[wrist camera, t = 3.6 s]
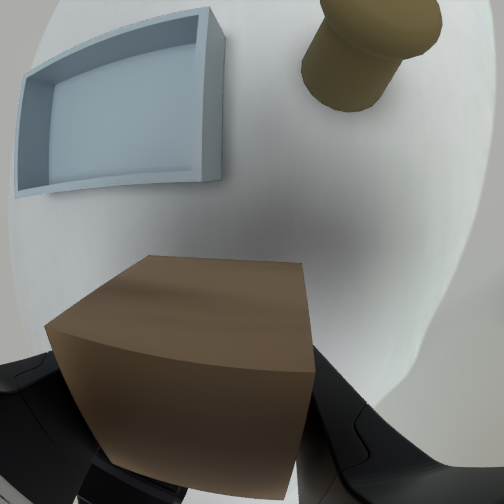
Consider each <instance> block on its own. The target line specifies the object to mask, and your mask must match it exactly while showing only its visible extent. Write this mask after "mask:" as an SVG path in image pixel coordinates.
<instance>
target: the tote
mask: <svg viewBox="0 0 504 504" xmlns="http://www.w3.org/2000/svg"><path fill="white" fill-rule="evenodd" d="M224 53H225V35H224V33H223V31H222V30H221V28H220V26H219V24H218V22H217V20H216V18H215V16H214V14H213V12H212V10H211V8H210V7H202V8H196V9H190V10H185V11H180V12H175V13H171V14H167V15H162V16H158V17H155V18H151V19H147V20H144V21H140V22H137V23H134V24H131V25H128V26H125V27H122V28H119V29H116V30H113V31H110V32H108V33H105V34H103V35H100V36H98V37H95V38H93V39H90V40H88V41H86V42H84V43H81V44H79V45H77V46H75V47H73V48H71V49H69V50H67V51H65V52H63V53H61V54H59V55H57V56H55V57H53V58H51V59H49V60H48V61H46V62H44V63H42V64H41V65H39V66H37V67H35V68H34V69H32V70H31V71H29V72H27V73H26V74H24V77H23V82H22V87H21V93H20V99H19V106H18V114H17V123H16V134H15V152H14V186H15V199H16V198H22V197H28V196H34V195H41V194H48V193H55V192H62V191H70V190H79V189H88V188H98V187H108V186H120V185H134V184H149V183H169V182H200V181H214V180H222V110H223V77H224Z"/></svg>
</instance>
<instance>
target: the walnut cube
mask: <svg viewBox="0 0 504 504" xmlns="http://www.w3.org/2000/svg"><path fill="white" fill-rule="evenodd" d="M44 327H45V330H46V333H47V336H48V339H49V342H50V344H51V347H52V350H53V352H54V355H55V358H56V360H57V363H58V365H59V367H60V370H61V372H62V375H63V377H64V379H65V381H66V383H67V386H68V388H69V390H70V392H71V394H72V396H73V398H74V400H75V402H76V404H77V406H78V408H79V410H80V412H81V414H82V415H83V417H84V419H85V421H86V423H87V424H88V426H89V428H90V430H91V431H92V433H93V435H94V436H95V438H96V439H97V441H98V443H99V444H100V446H101V447H102V449H103V450H104V452H105V453H106V455H107V456H108V458H109V459H110V461H111V462H112V464H115V465H117V466H120V467H122V468H125V469H128V470H130V471H133V472H136V473H139V474H142V475H144V476H148V477H151V478H154V479H157V480H160V481H164V482H167V483H171V484H175V485H179V486H183V487H187V488H191V489H196V490H200V491H206V492H211V493H216V494H223V495H229V496H237V497H245V498H255V499H268V500H284V498H285V495H286V491H287V488H288V485H289V482H290V478H291V475H292V471H293V468H294V464H295V461H296V457H297V453H298V449H299V446H300V442H301V438H302V434H303V430H304V425H305V421H306V417H307V412H308V408H309V403H310V398H311V394H312V389H313V384H314V378H315V373H316V371H315V361H314V352H313V343H312V335H311V326H310V318H309V311H308V303H307V296H306V289H305V282H304V275H303V268H302V263H290V262H268V261H247V260H227V259H207V258H188V257H170V256H152V255H148V256H147V257H145V258H144V259H142V260H141V261H139V262H137V263H136V264H134V265H133V266H131V267H130V268H128V269H126V270H125V271H123V272H122V273H120V274H119V275H117V276H116V277H114V278H113V279H111V280H110V281H108V282H107V283H105V284H104V285H102V286H101V287H99V288H98V289H96V290H95V291H93V292H92V293H90V294H89V295H87V296H86V297H84V298H83V299H82V300H80V301H79V302H77V303H76V304H74V305H73V306H71V307H70V308H69V309H67V310H66V311H64V312H63V313H62V314H60V315H59V316H57V317H56V318H55V319H53V320H52V321H50V322H49V323H48V324H46V325H45V326H44Z"/></svg>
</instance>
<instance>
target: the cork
mask: <svg viewBox="0 0 504 504" xmlns="http://www.w3.org/2000/svg"><path fill="white" fill-rule="evenodd" d="M320 4H321V7H322V10H323V12H324V15H325V18H324V20H323V22H322V24H321V25H320V27H319V29H318V31H317V33H316V35H315V37H314V39H313V41H312V42H311V44H310V46H309V48H308V50H307V52H306V54H305V56H304V58H303V60H302V67H301V74H302V77H303V81H304V84H305V85H306V87H307V88H308V90H309V91H310V93H311V94H312V95H313V96H314V97H315V98H316V99H317V100H319V101H320V102H321V103H322V104H324V105H326V106H328V107H330V108H332V109H334V110H339V111H344V112H356V111H362V110H364V109H367V108H369V107H371V106H372V105H373V104H374V103H375V102H376V101H377V100H378V99H379V98H380V97H381V95H382V93H383V92H384V90H385V88H386V87H387V85H388V84H389V82H390V80H391V79H392V77H393V75H394V74H395V72H396V71H397V69H398V67H399V66H400V64H401V62H402V61H403V60H405V59H409V58H412V57H416V56H419V55H422V54H424V53H425V52H426V51H428V50H429V49H430V48H431V47H432V46H433V45H434V44H435V43H436V42H437V40H438V38H439V36H440V33H441V29H442V16H441V12H440V7H439V4H438V3H437V1H436V0H320Z"/></svg>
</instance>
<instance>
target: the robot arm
mask: <svg viewBox="0 0 504 504" xmlns="http://www.w3.org/2000/svg"><path fill="white" fill-rule="evenodd" d="M313 352H314V361H315V371H316V373H315V378H314V384H313V389H312V394H311V398H310V403H309V408H308V412H307V417H306V421H305V425H304V430H303V434H302V438H301V442H300V446H299V449H298V453H297V457H296V466H297V480H298V495H299V504H504V467H484V468H481V467H479V468H478V467H452V466H448V465H444V464H442V463H439V462H438V461H436V460H434V459H432V458H431V457H430V456H428V455H427V454H426V453H424V452H423V451H422V450H420V449H419V448H418V447H416V446H415V445H414V444H413V443H411V442H410V441H409V440H407V439H406V438H405V437H404V436H402V435H401V434H400V433H399V432H397V431H396V430H395V429H394V428H393V427H391V426H390V425H389V424H388V423H387V422H386V421H385V420H384V419H383V418H382V417H381V416H380V415H379V414H378V413H377V412H376V411H375V410H374V409H373V408H372V407H371V406H370V405H369V404H367V402H366V401H365V400H364V399H363V398H362V397H361V396H360V395H359V394H358V393H357V391H356V390H355V389H354V388H353V387H352V386H351V385H350V384H349V383H348V382H347V381H346V380H345V379H344V378H343V376H342V375H341V374H340V373H339V372H338V371H337V370H336V369H335V368H334V367H333V366H332V365H331V364H330V362H329V361H328V360H327V359H326V358H325V357H324V356H323V355H322V354H321V353H320V352H319V351H318V349H317V348H316V347H315V346H314V345H313ZM187 490H188V488H187V487H183V486H179V485H175V484H171V483H167V482H164V481H160V480H157V479H154V478H151V477H148V476H144V475H142V474H139V473H136V472H133V471H130V470H128V469H125V468H122V467H120V466H117V465H115V464H112V462H111V461H110V459H109V458H108V456H107V455H106V453H105V452H104V450H103V449H102V447H101V446H100V444H99V443H98V441H97V439H96V438H95V436H94V435H93V433H92V431H91V430H90V428H89V426H88V424H87V423H86V421H85V419H84V417H83V415H82V414H81V412H80V410H79V408H78V406H77V404H76V402H75V400H74V398H73V396H72V394H71V392H70V390H69V388H68V386H67V383H66V381H65V379H64V377H63V375H62V372H61V370H60V367H59V365H58V363H57V360H56V358H55V355H54V352H53V350H52V351H49V352H48V353H47V352H46V353H43V354H40V355H37V356H33V357H30V358H27V359H23V360H19V361H15V362H11V363H7V364H3V365H0V504H73V502H74V499H75V497H76V496H77V499H78V504H181V503H182V501H183V499H184V497H185V495H186V492H187Z"/></svg>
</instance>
